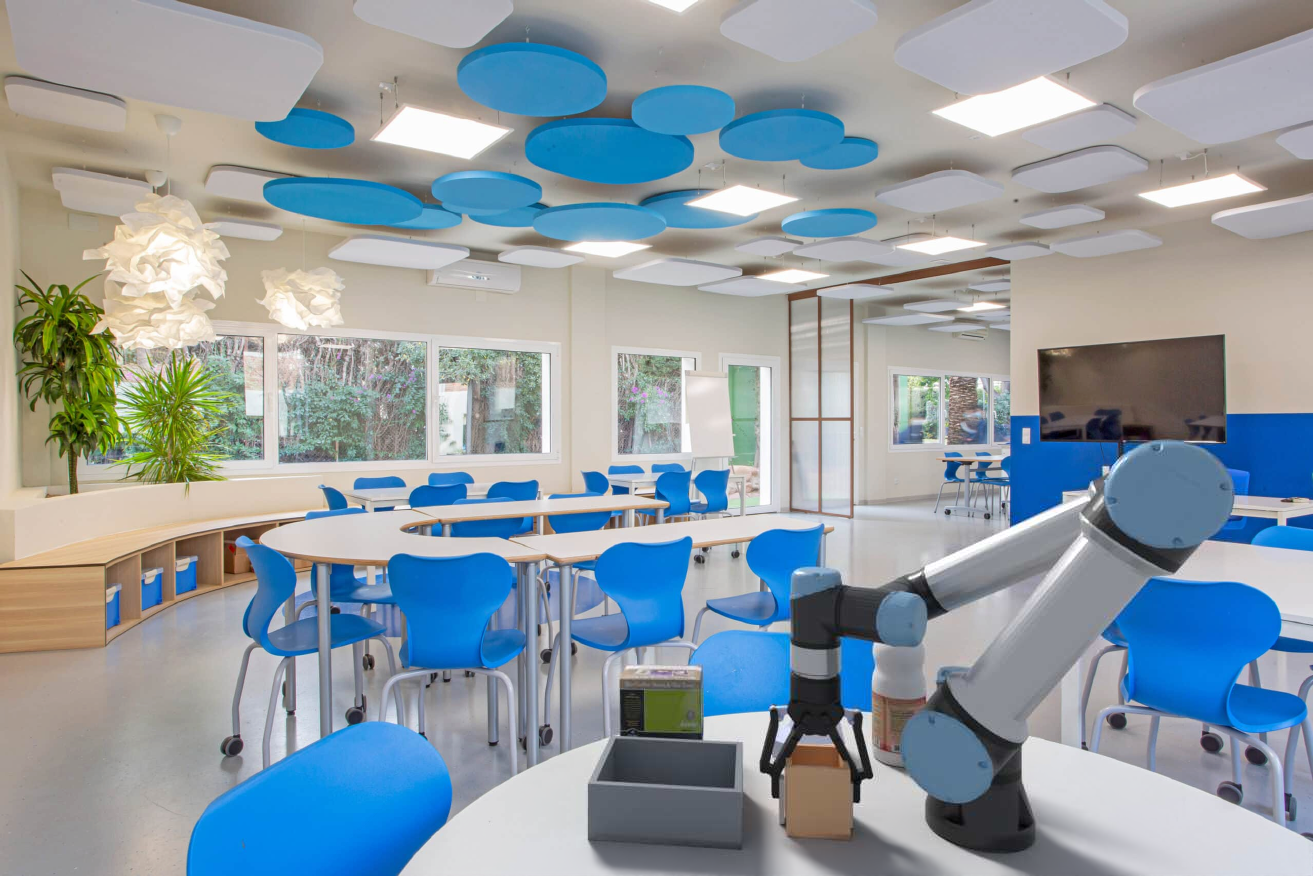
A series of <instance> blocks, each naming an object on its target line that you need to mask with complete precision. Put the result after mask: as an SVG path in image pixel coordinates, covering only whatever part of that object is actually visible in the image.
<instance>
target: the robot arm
mask: <svg viewBox="0 0 1313 876" xmlns="http://www.w3.org/2000/svg"><path fill="white" fill-rule="evenodd" d="M1235 499H1236V494H1235V486H1234V481H1233V479H1232V476H1231V474H1230V472H1229V470H1228V468H1227V467H1226V466H1225V464H1224V463H1223V462H1222V461H1221V460H1220V459H1219V458H1218V457H1217V456H1216V455H1214V454H1213V453H1211V452H1209V451H1208V450H1207V449H1206V448H1203V447H1201V446H1198V445H1195V444H1194V443H1192V442H1189V441H1185V440H1177V439H1157V440H1152V441H1151V440H1150V441H1148V442H1145V443H1141V444H1140V445H1137V446H1136V447H1134V448H1131V449H1130V450H1129V451H1127V452H1126V453H1124V454H1122V455H1121V456H1120V457H1119V458H1118V459H1117V460H1116V462H1115V463H1114V464H1113V465H1112V467H1111V468H1110V470H1109V472H1108V473H1105V474H1104V475H1102V476H1101V477H1098V478H1096V479H1094V480H1092V481H1090V483H1089V487H1088V489H1087V491H1086V492H1084V493H1082V494H1079V495H1077V496H1075V497H1073V498H1071V499H1069V500H1067V501H1065V502H1062V503H1060V504H1058V505H1055V506H1053V507H1051V508H1049V509H1047V510H1045V511H1042V512H1040V513H1038V514H1036V515H1033V516H1031V517H1029V518H1027V519H1025V520H1023V521H1021V522H1018V523H1017V524H1014V525H1011V526H1010V527H1008V528H1006V529H1003V530H1001V531H999V532H996V533H995V534H992V535H990V536H988V537H986V538H984V539H981V540H979V541H977V542H975V543H973V544H971V545H968V546H966V547H964V548H962V549H960V550H958V551H956V552H952V553H951V554H949V555H947V556H944V557H942V558H940V559H938V560H936V561H934V562H932V563H930V564H927V565H926V566H924V567H919V569H916V570H913V571H912V572H909V573H906V574H904V575H901V576H900V577H898V578H895V579H894V580H892V581H890V582H888V583H885V584H882V585H880V586H878V587H876V588H873V587H870V588H869V587H861V586H852V585H847V584H843V579H842V575H841V574H842V573H841V572H840V571H839V570H838V569H834V568H829V567H822V566H805V567H799V568H797V569H795V570H794V571H793V572H792V573H791V575H790V576H791V578H790V590H789V591H790V594H789V597H788V599H789V603H790V604H789V606H790V607H789V609H790V610H789V612H790V637H789V639H790V642H789V645H790V646H789V662H790V663H789V666H790V669H791V670H792V671H791V672H790V673H789V700H788V702H787V704H786V705H777V703H776V704H775V703H771V704H770V705H769V724H768V727H767V731H766V734H765V735H766V736H765V740H764V742H763V747H762V751H761V754H760V757H759V758H760V759H759V772H760V773H762V774H763V775H765V774H766V775H769V777H770V781H771V783H770V784H771V787H770V788H771V789H770V790H771V791H770V793H771V797H772V799H778V824H781V825H783V824H784V825H785V823H786V820H785V779H784V767H785V765H786V758H790V756H791V754H792V753H793V751H794V749H795V747H796V745H797V744H798V742H799V741H800V740H801V738H802V736H803V734H805V735H807V736H811V735H819V736H826V735H828V734H829V736H830V738H831V740H832V742H833V743H834V744H833V745H835V747H836V749H837V751H838V753H839V755H840V757H841V758H842V760H843V761H848V764H849V767H850V828H851V829H854V804H860V803H861V784H862V781H863V780H864V781H865V780H872V779H873V778H874V773H873V769H872V764H871V760H870V755H869V751H868V747H867V745H866V741H865V737H864V733H863V721H864V716H863V713H862V711H861V709H860V708H859V707H854V708H846V707H844V706H843V704H842V676H841V675H840V672H841V671H842V638H846V639H853V640H858V641H864V642H870V643H874V642H875V643H880V644H886V645H889V646H892V647H897V646H901V647H916V646H918V645H919V644H920V643H922V642H923V639H924V637H925V636H926V631H927V626H928V625H927V624H928V621H931V620H933V619H936V618H938V617H941V616H943V615H945V614H946V615H947V614H948V612H952V611H954V610H956V609H960V608H961V607H964V606H966V605H969V604H971V603H974V602H976V601H978V600H981V599H984V598H985V597H988V596H991V595H993V594H996V593H998V592H1001V591H1003V590H1005V589H1007V588H1010V587H1013V586H1015V585H1017V584H1020V583H1022V582H1025V581H1027V580H1030V579H1032V578H1035V577H1037V576H1039V575H1042V574H1044V573H1046V572H1048V573H1047V574H1046V575H1045V576H1044V578H1043V579H1042V580H1041V581H1040V583H1039V584H1038V585H1037V586H1036V588H1035V589H1033V591H1032V592H1031V594H1030V595H1029V597H1027V598H1026V599H1025V600H1024V602H1023V603H1022V605H1021V606H1020V607H1019V608H1018V609H1017V611H1016V612H1015V613H1014V615H1012V617H1011V618H1010V619H1009V621H1008V622H1007V623H1005V625H1004V626H1003V628H1002V629H1001V630H1000V632H999V633H998V634H997V635H996V637H995V638H994V639H993V640H992V641H991V642H990V644H989V645H988V646H987V648H986V649H984V651H983V652H982V654H980V656H979V657H978V659H976V661H975V662H974V663H973V665H971V666H963V665H948V666H946V665H945V666H943V667H940V668H939V669H938V670H937V673H936V674H937V675H936V679H935V685H936V690H935V691H934V693H933V694H932V695H931V696H930V697H929V698H928V699H927V700H926V703H925V705H924V706H923V707H922V708H921V709H920V711H919V712H918V713H916V714H915V715H913V716H911V717H910V718H909V719H908V720H907V722H906V724H905V726H904V729H903V731H902V733H901V737H900V744H899V745H900V752H901V757H902V761H903V764H904V766H905V767H904V769H905V770H906V772H907V774H908V775H909V776H910V778H911V779H912V780H913V782H914V783H915V784H916V785H917V786H918V787H919V788H920V789H921V790H923V791H924V792H926V793H927V794H926V798H925V800H924V801H925V802H924V818H925V822H926V824H927V825H928V826H929V828H930V829H931V830H932V831H933V832H935V833H936V834H937V835H939V836H941V837H942V838H944V839H946V840H948V841H950V842H952V843H954V844H956V845H959V846H962V847H966V848H970V849H974V850H978V851H984V852H991V853H1012V852H1018V851H1022V850H1025V849H1028V848H1029V847H1031V846H1032V845H1034V843H1035V841H1036V836H1037V835H1036V833H1037V831H1036V819H1035V816H1034V813H1033V810H1032V807H1031V803H1030V800H1029V798H1028V797H1029V796H1028V795H1027V792H1026V788H1025V786H1024V783H1023V772H1022V771H1023V769H1022V768H1023V765H1022V764H1023V757H1022V756H1023V751H1022V750H1023V749H1022V748H1023V747H1022V746H1023V745H1024V744H1025V742H1027V740H1028V738H1029V735H1030V733H1029V729H1028V724H1027V719H1029V717H1030V716H1031V715H1032V713H1034V711H1035V710H1036V709H1037V708H1038V707H1039V705H1040V704H1041V703H1042V702H1043V701H1044V700H1045V699H1046V698H1047V696H1048V695H1050V693H1051V692H1052V691H1053V689H1055V687H1057V685H1058V684H1059V683H1060V682H1061V680H1062V679H1063V678H1064V677H1065V676H1066V675H1067V674H1068V672H1069V671H1070V670H1071V669H1072V668H1073V667H1074V666H1075V665H1076V663H1077V662H1078V661H1080V659H1081V657H1082V656H1083V655H1084V654H1085V653H1086V652H1087V651H1088V650H1089V649H1090V648H1091V646H1092V645H1093V644H1094V643H1095V642H1096V641H1097V640H1098V638H1099V637H1100V636H1101V635H1102V634H1103V632H1104V631H1105V630H1106V629H1107V628H1108V627H1109V626H1110V625H1111V623H1113V621H1114V620H1115V619H1116V618H1117V617H1118V615H1120V613H1121V612H1122V611H1123V610H1124V608H1126V607H1127V605H1128V604H1129V603H1130V602H1131V601H1132V599H1134V598H1135V596H1136V595H1137V594H1138V593H1139V592H1140V591H1141V589H1142V588H1143V587H1144V586H1145V585H1146V584H1147V582H1148V581H1149V580H1150V579H1152V578H1154V577H1166V576H1174V575H1175V574H1176V573H1177V572H1178V571H1179V570H1180V568H1181V567H1182V566H1183V565H1184V564H1185V563H1186V562H1187V561H1188V560H1189V559H1190V557H1191V556H1193V554H1194V553H1195V552H1196V551H1197V550H1198V549H1199V547H1200V546H1201V545H1202V544H1203V543H1204V541H1208V539H1210V537H1214V536H1215V535H1216V534H1218V532H1219V531H1220V530H1221V529H1222V528H1223V527H1224V526H1225V524H1226V523H1227V521H1228V520H1229V519H1230V517H1231V514H1232V512H1233V509H1234V505H1235ZM786 715H788V716H789V718H790V720H791V719H792V721H793V722H794V724H793V726H792V728H791V731H790V733H789V735H788V737H787V739H786V741H785V742H784V744H783V746H782V748H781V750H780V752H779V753H778V755H777V757H776V759H775V758H774V761H773V762H772V763H771V759H772V757H771V755H772V752H773V748H774V744H775V740H776V736H777V732H778V727H780V726H779V725H780V723H781V722H783V721H784V718H785V716H786ZM843 718H846V720H847V723H848V725H851V728H852V732H853V736H854V740H855V743H856V748H857V751H858V755H859V760H860V764H861V766H860V767H857V766H856V763H855V762H854V759H853V757H852V756H851V754H850V752H849V750H848V748H847V747H846V743H845V744H844V742H843V740H842V738H841V737H840V735H839V733H838V730H837V728H836V726H837V725H838V723H839V722H840V723H841V722H842V719H843Z"/></svg>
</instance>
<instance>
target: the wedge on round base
mask: <svg viewBox="0 0 1313 876" xmlns="http://www.w3.org/2000/svg"><path fill="white" fill-rule="evenodd" d="M793 724H794V722H793V721H792V719H791V718H790V722H789V723H788V725H781V726H779V727H778V732H777V736H776V740H775V744H774V748H773V752H772V757H771V758H773V757H774V758H773V759H775V758H776V757H777V755H778V753H779V752H780V750H781V748H782V746H783V744H784V742H785V741H786V739H787V737H788V735H789V733H790V731H791V728H792V726H793ZM836 728H837V730H838V733H839V735H840V737H841V738H842V740H843V742H844V744H845V745H846V740H845V736H844V733H843V727H842V725H841V721H840V722H839V723H838V725H837V726H836ZM798 743H800V744H820V745H834V743H833V742H832V740H831V738H830V736H829V734H828V735H826V736H819V735H811V736H807V735H805V734H803V736H802V738H801V740H800V741H799V742H798Z"/></svg>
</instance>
